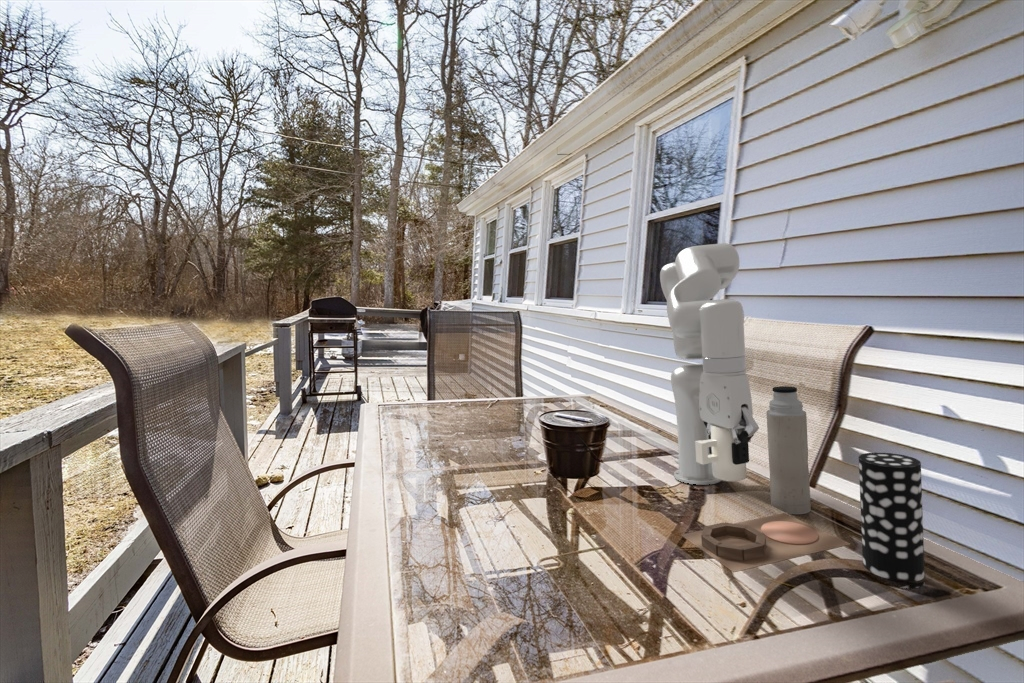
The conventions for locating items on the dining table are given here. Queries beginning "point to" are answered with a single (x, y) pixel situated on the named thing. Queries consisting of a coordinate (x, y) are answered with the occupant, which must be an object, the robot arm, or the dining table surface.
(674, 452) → the dining table surface
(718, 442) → the white ceramic pitcher
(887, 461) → the white-spotted black cylinder
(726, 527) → the holder board
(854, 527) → the dining table surface
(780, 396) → the thermos bottle
